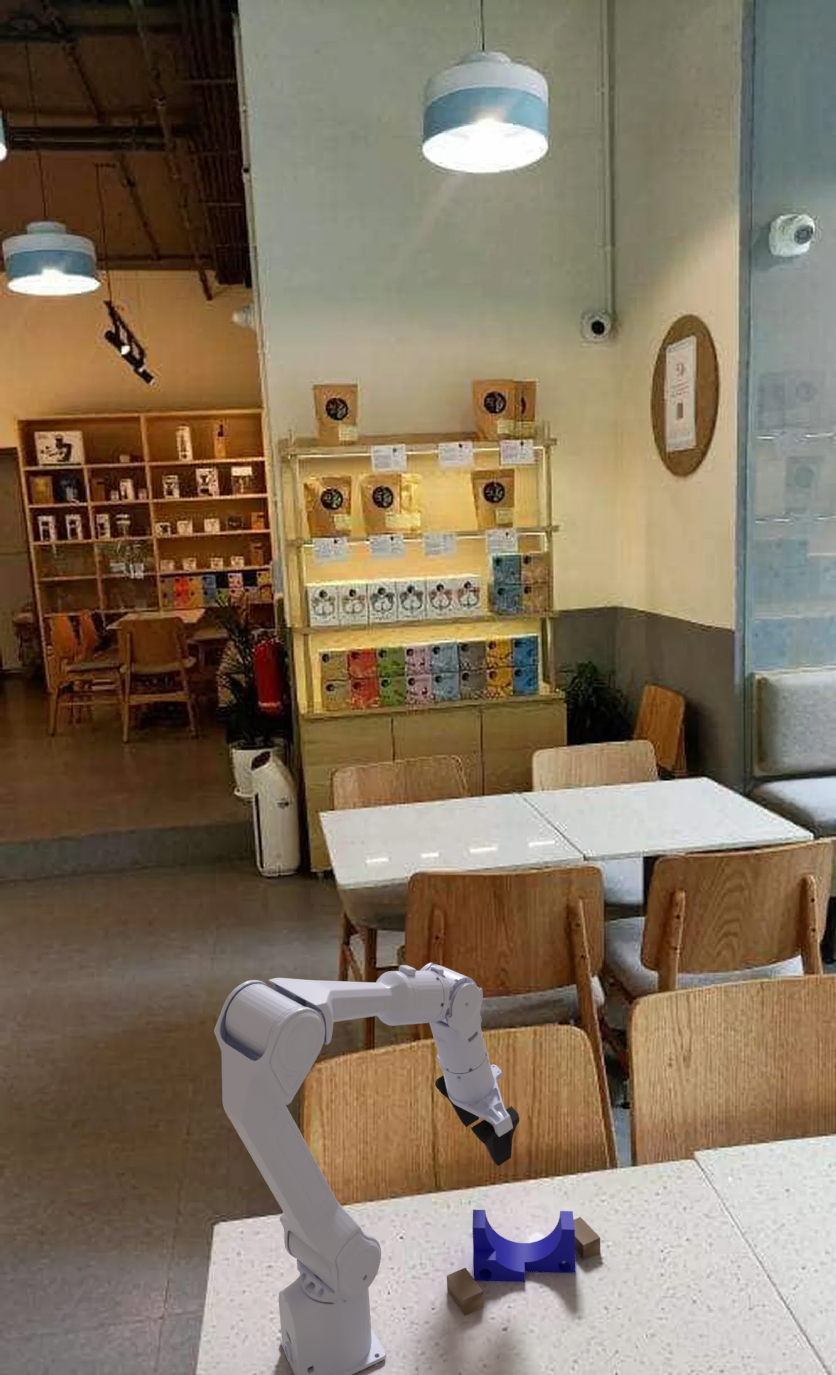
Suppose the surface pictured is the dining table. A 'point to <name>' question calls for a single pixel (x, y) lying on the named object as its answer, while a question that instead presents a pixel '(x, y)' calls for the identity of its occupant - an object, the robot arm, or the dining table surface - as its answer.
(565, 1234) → the blue block with holes
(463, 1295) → the end blocks
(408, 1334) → the dining table surface
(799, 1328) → the dining table surface
